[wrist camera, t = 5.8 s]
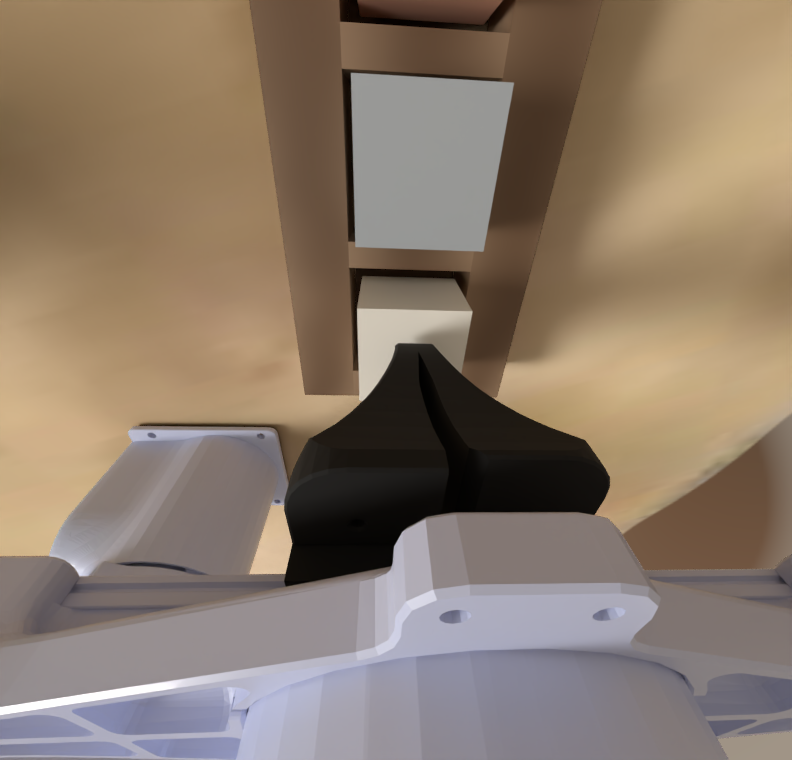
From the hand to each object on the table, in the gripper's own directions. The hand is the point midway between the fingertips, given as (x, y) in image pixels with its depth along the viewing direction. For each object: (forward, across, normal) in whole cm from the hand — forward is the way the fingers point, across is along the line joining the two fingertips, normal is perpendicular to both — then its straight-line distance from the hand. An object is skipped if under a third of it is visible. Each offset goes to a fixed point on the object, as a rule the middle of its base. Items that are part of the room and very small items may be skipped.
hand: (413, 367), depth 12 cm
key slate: (+4, 0, -6) cm, 7 cm away
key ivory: (+4, 0, 0) cm, 4 cm away
